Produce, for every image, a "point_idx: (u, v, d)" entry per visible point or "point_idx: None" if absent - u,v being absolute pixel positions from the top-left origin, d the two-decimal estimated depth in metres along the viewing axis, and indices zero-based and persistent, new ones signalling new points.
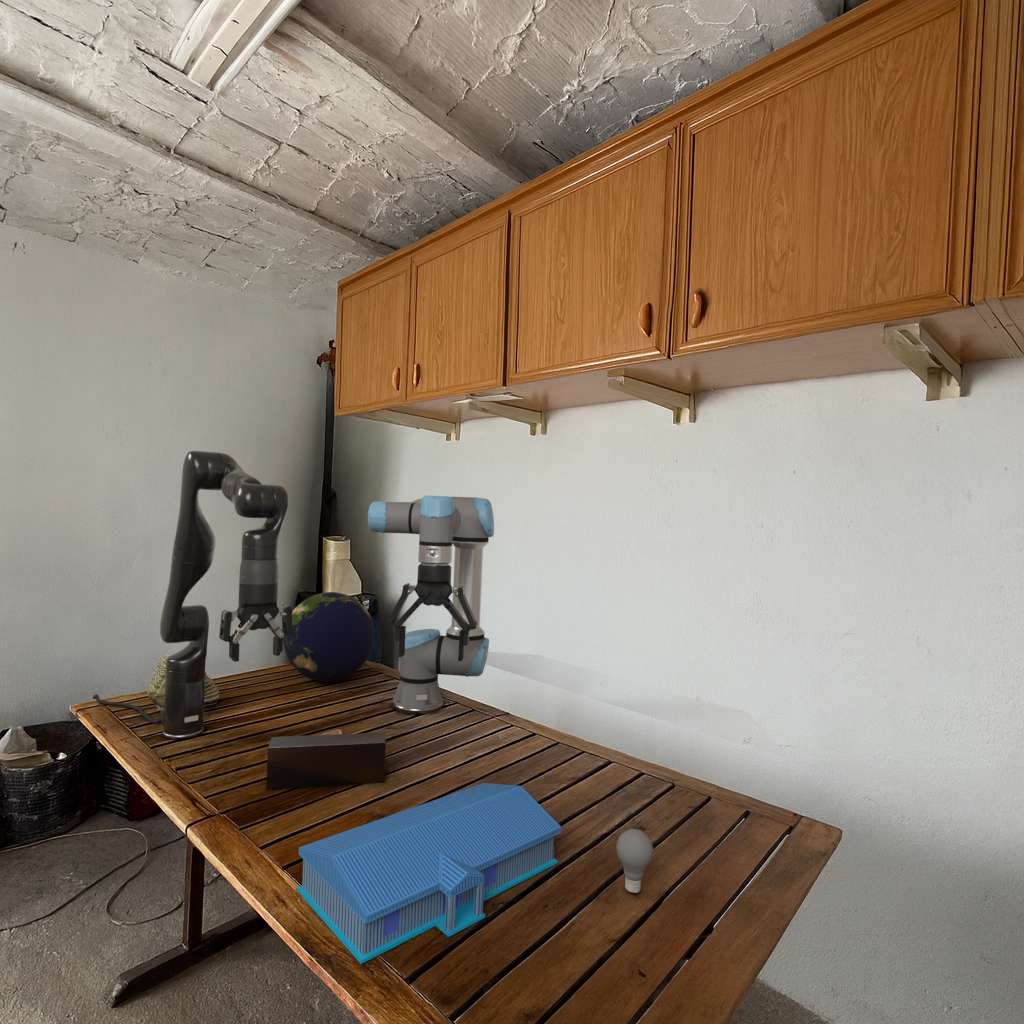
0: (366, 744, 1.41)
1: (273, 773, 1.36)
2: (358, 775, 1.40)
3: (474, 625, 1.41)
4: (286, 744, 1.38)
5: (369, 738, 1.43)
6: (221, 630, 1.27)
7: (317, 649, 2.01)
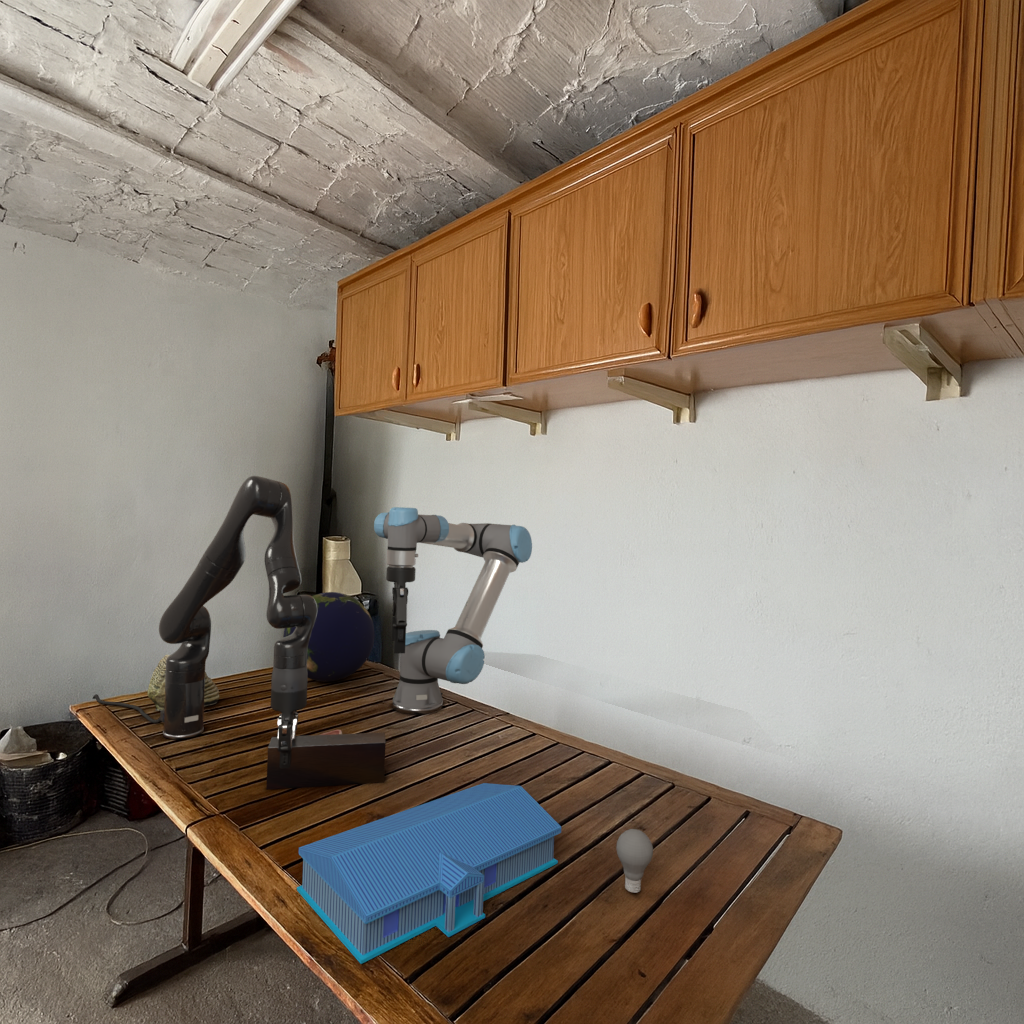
0: (366, 744, 1.40)
1: (272, 773, 1.36)
2: (358, 775, 1.40)
3: None
4: (286, 744, 1.38)
5: (369, 738, 1.43)
6: None
7: (317, 649, 2.01)
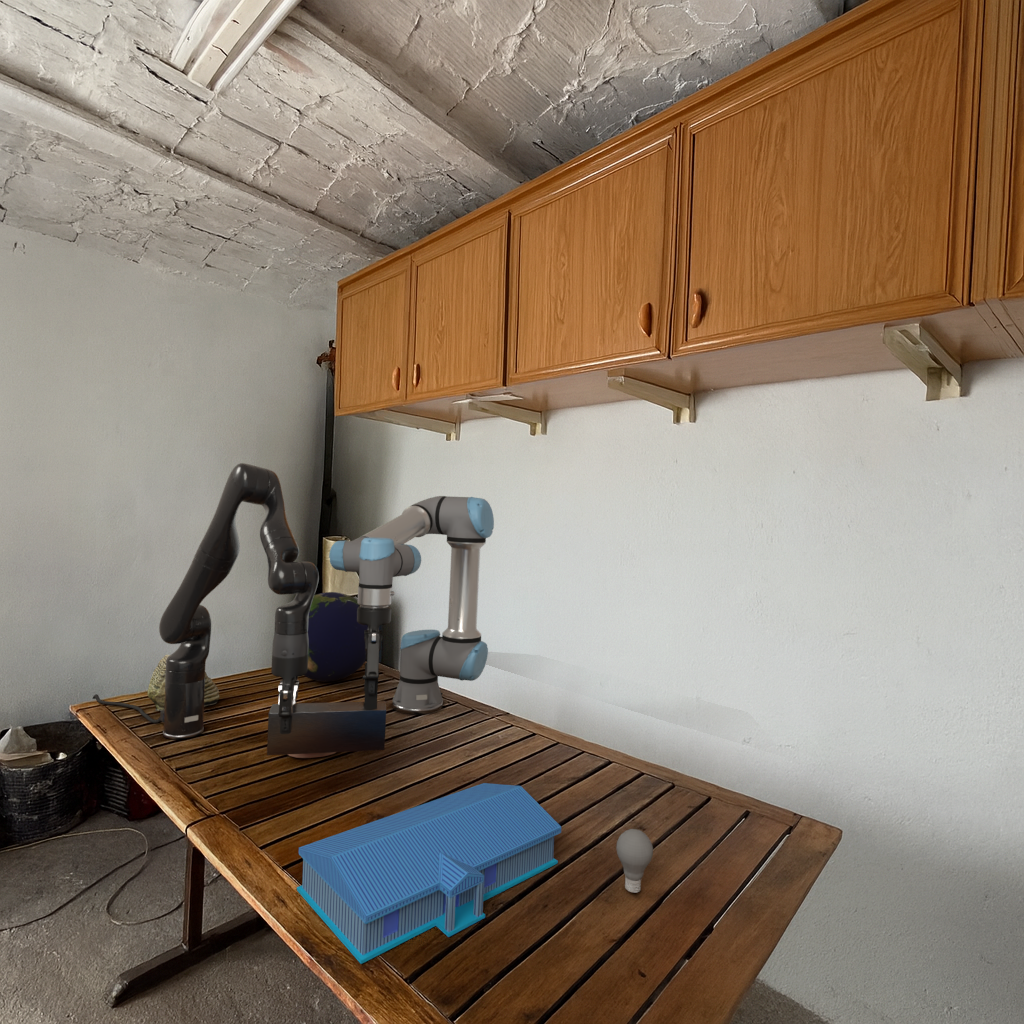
0: (367, 711, 1.40)
1: (273, 739, 1.36)
2: (358, 742, 1.40)
3: None
4: (287, 710, 1.38)
5: None
6: None
7: (317, 649, 2.01)
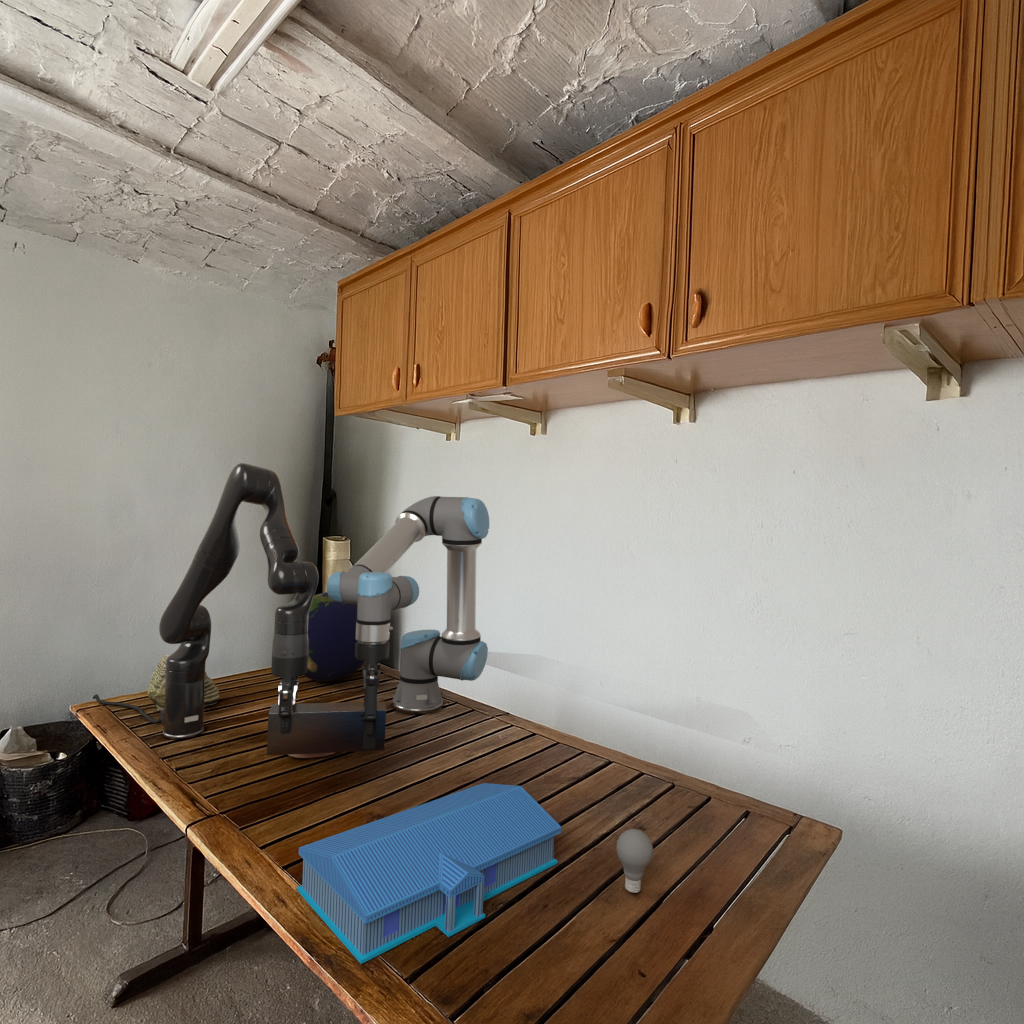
0: None
1: (273, 739, 1.36)
2: (358, 742, 1.40)
3: None
4: (287, 710, 1.38)
5: None
6: None
7: (317, 649, 2.01)
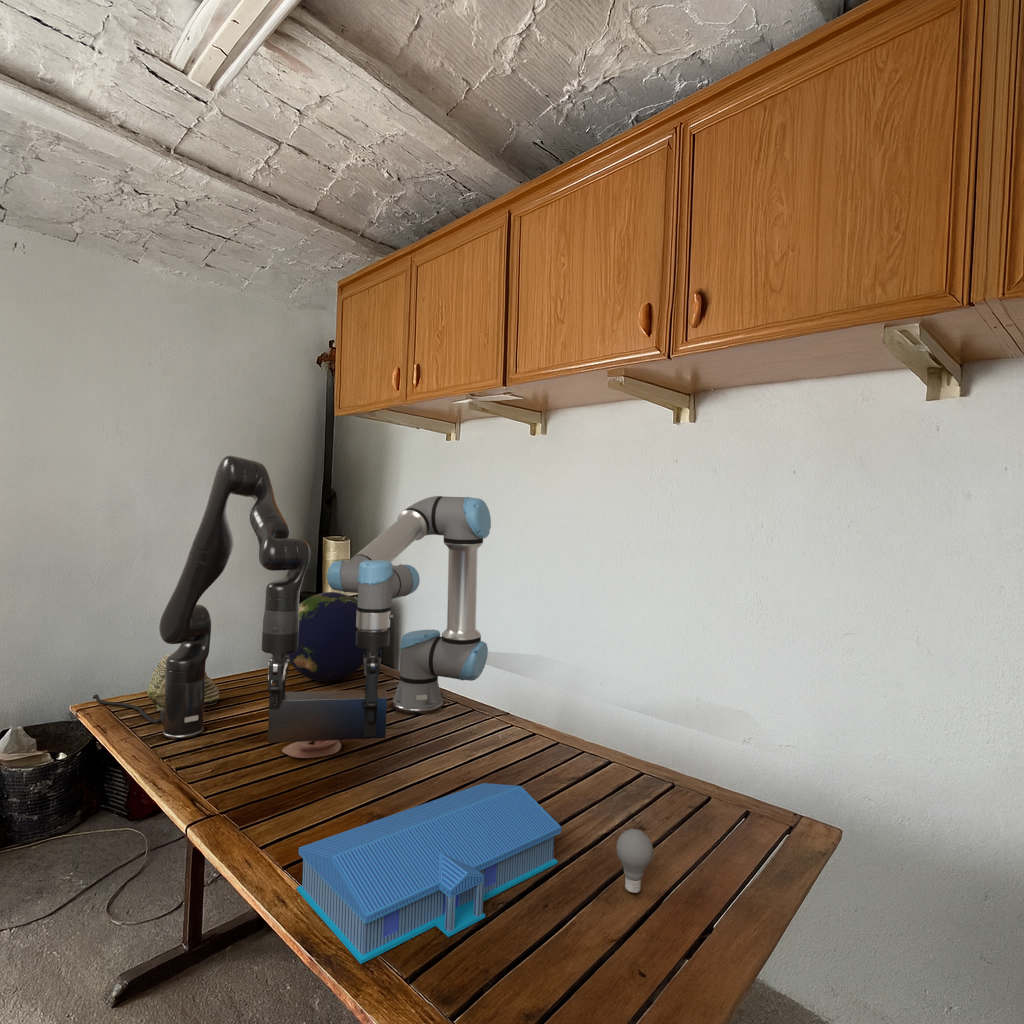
0: None
1: (274, 727, 1.36)
2: (359, 730, 1.40)
3: None
4: (288, 698, 1.38)
5: None
6: None
7: (317, 649, 2.01)
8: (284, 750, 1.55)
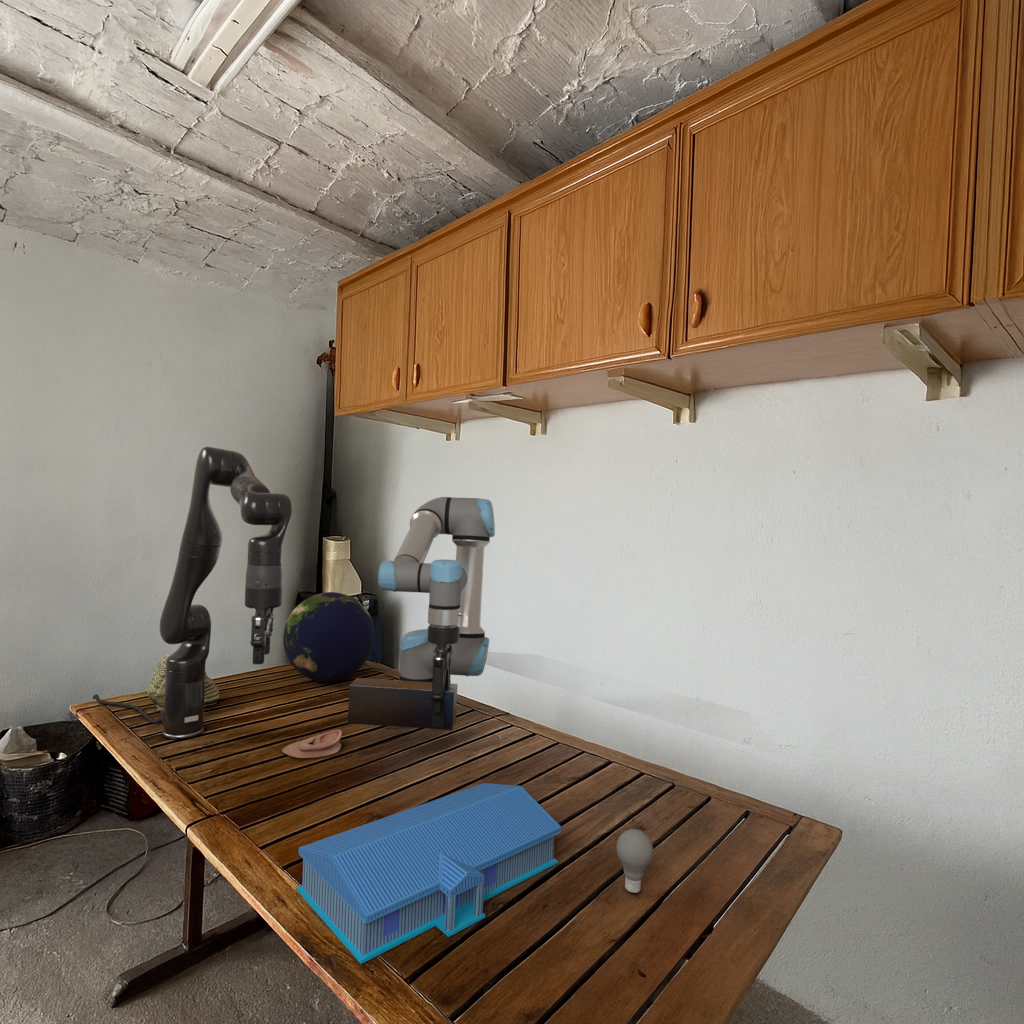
0: None
1: (353, 709, 1.49)
2: (428, 720, 1.48)
3: None
4: (366, 684, 1.50)
5: None
6: None
7: (317, 649, 2.01)
8: (284, 750, 1.55)
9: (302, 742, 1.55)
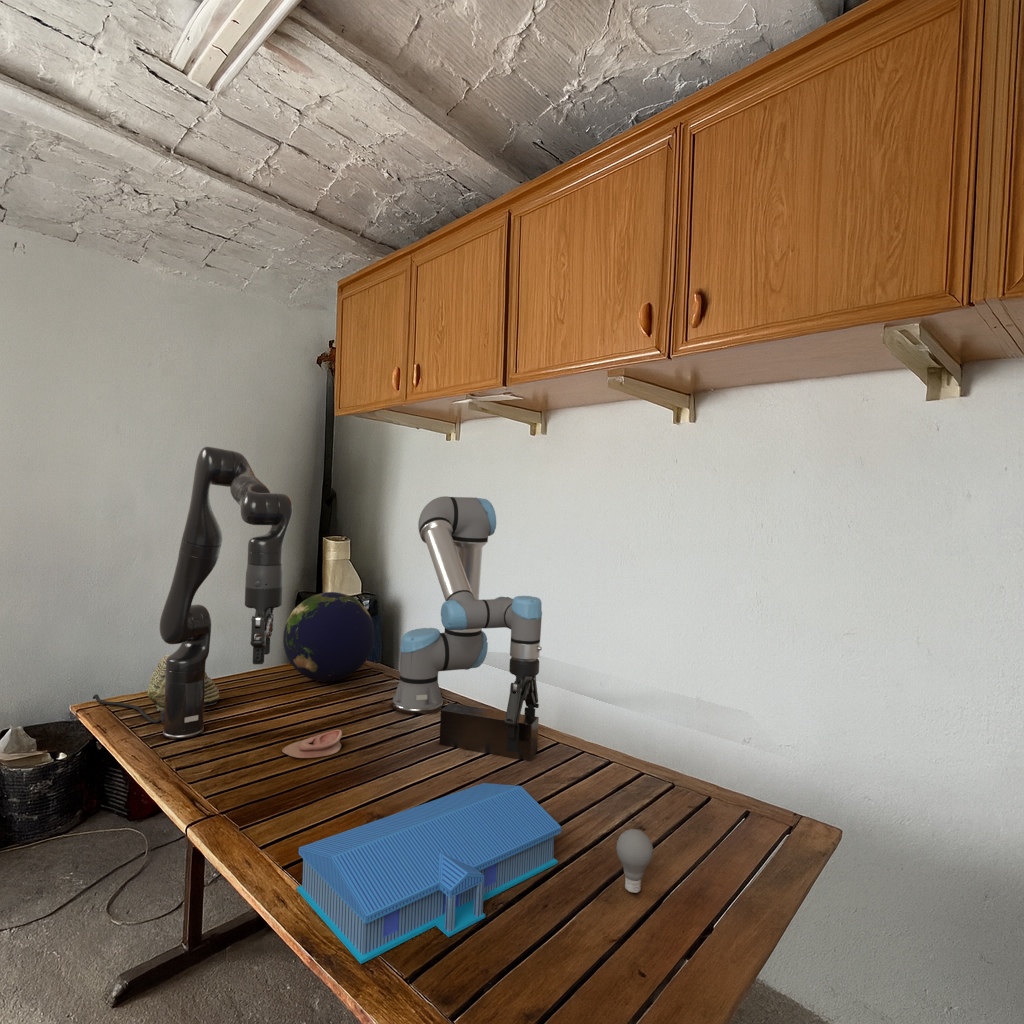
0: None
1: (444, 732, 1.64)
2: None
3: (537, 699, 1.69)
4: (455, 710, 1.65)
5: (521, 719, 1.60)
6: None
7: (317, 649, 2.01)
8: (284, 750, 1.55)
9: (302, 742, 1.55)
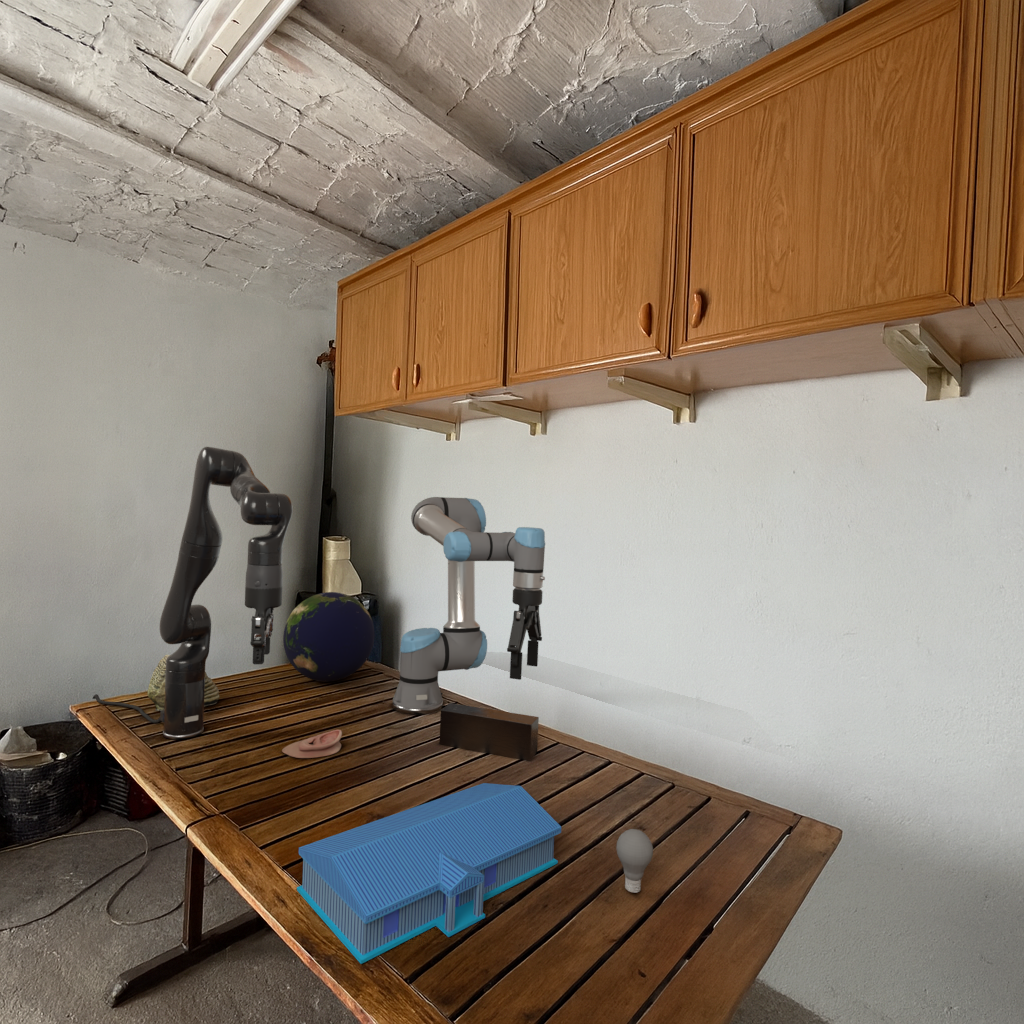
0: (515, 723, 1.58)
1: (444, 732, 1.64)
2: (508, 749, 1.59)
3: None
4: (455, 710, 1.65)
5: (521, 719, 1.60)
6: None
7: (317, 649, 2.01)
8: (284, 750, 1.55)
9: (302, 742, 1.55)
